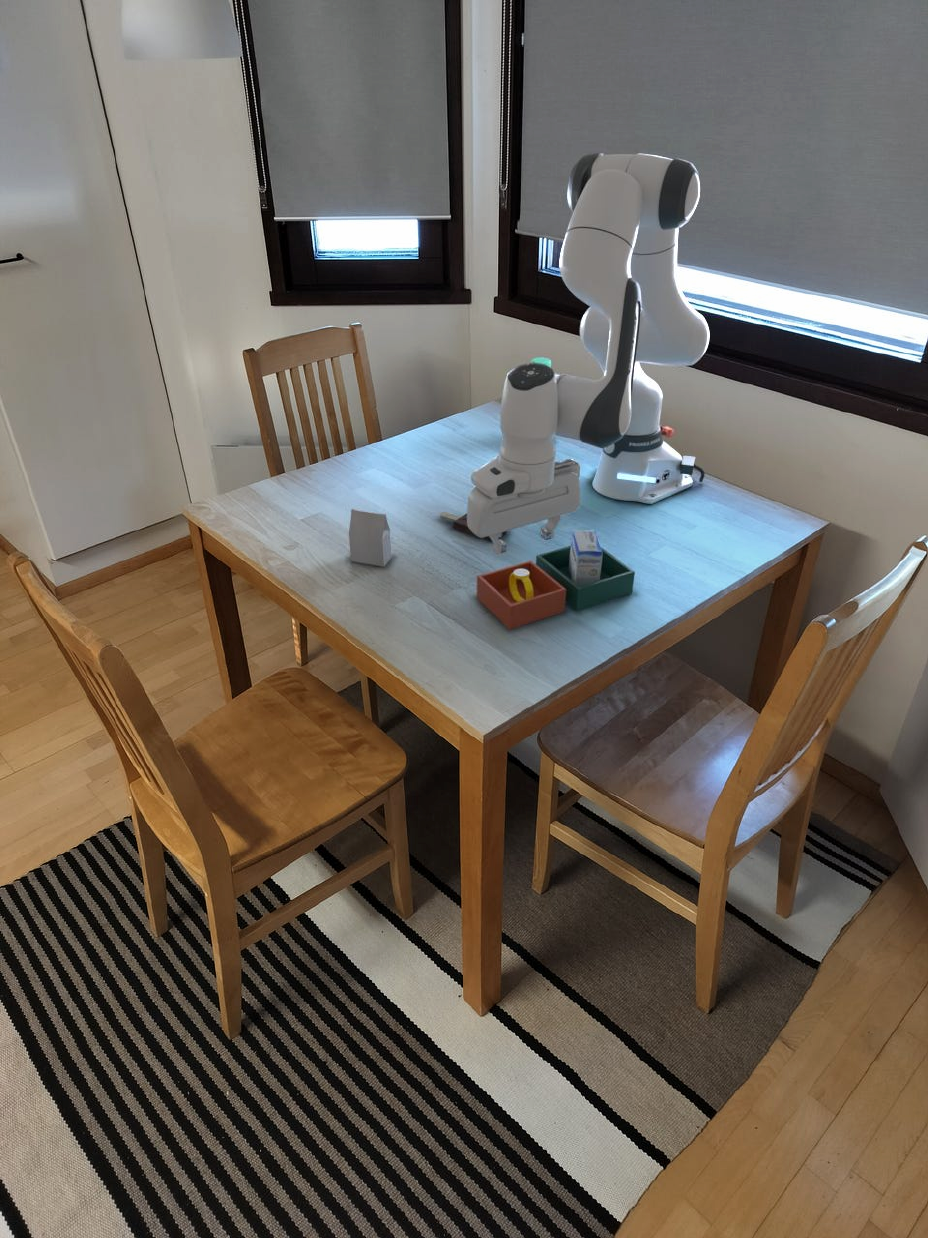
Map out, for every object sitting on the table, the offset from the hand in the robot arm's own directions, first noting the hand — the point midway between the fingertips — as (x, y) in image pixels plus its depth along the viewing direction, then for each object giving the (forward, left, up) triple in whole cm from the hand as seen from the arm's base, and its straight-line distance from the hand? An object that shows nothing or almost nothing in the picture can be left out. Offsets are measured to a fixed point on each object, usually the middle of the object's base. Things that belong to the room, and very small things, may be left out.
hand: (523, 545), depth 147 cm
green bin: (-13, 0, -12) cm, 18 cm away
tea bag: (+17, -27, -12) cm, 34 cm away
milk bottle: (-42, -60, -12) cm, 74 cm away
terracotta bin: (0, 0, -12) cm, 12 cm away
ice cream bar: (-6, -29, -12) cm, 32 cm away
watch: (0, 0, -11) cm, 11 cm away
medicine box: (-13, 0, -11) cm, 17 cm away
